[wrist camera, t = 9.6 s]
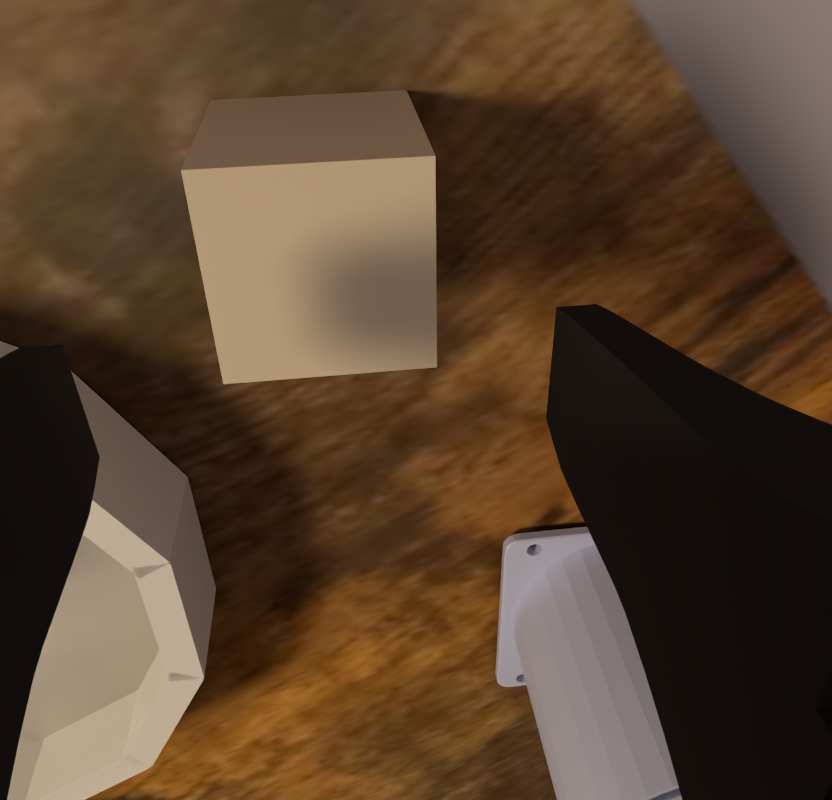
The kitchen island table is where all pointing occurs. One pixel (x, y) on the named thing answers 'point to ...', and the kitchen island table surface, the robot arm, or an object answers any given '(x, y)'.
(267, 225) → the cream rectangular block
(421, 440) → the kitchen island table surface
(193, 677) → the bowl
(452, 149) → the kitchen island table surface
